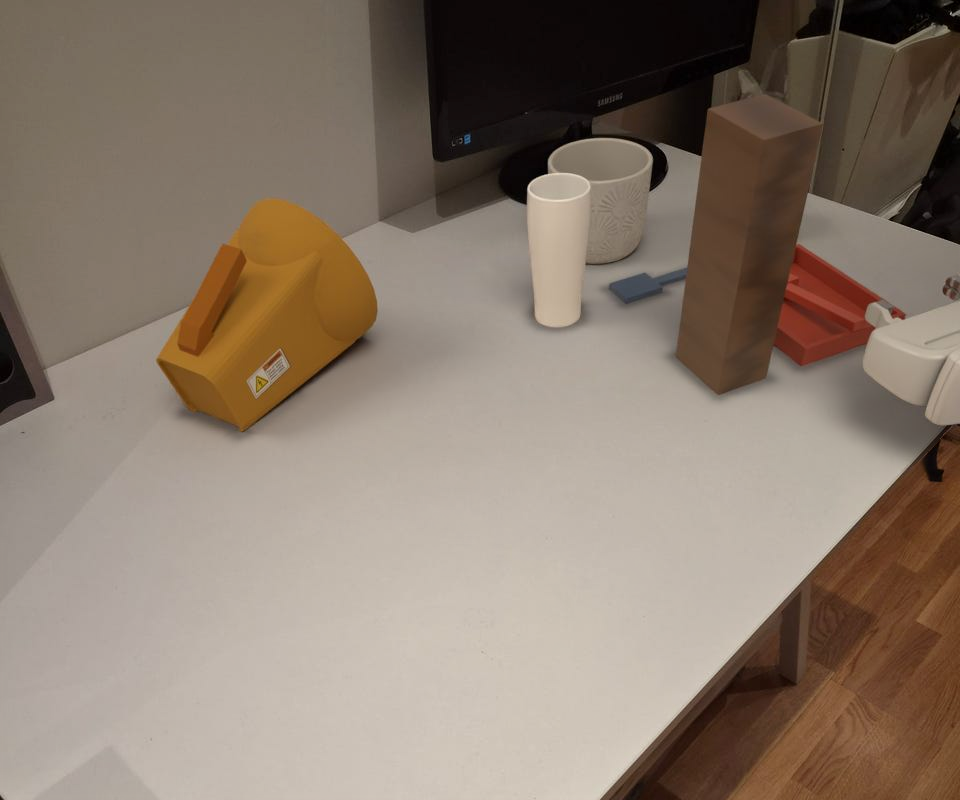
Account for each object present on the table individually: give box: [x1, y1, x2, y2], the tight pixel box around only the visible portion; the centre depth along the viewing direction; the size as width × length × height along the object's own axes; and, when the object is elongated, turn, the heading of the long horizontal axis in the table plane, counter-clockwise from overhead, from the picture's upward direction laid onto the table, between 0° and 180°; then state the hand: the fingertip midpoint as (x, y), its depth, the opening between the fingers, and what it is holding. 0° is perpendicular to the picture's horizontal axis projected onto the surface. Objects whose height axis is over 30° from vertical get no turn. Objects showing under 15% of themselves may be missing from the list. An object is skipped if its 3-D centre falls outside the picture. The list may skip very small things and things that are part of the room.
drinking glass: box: [526, 173, 591, 328], centre depth 96 cm, size 7×7×15 cm
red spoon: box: [784, 274, 865, 332], centre depth 97 cm, size 4×17×1 cm, turn 25°
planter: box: [547, 137, 654, 265], centre depth 107 cm, size 12×12×11 cm
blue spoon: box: [608, 267, 687, 305], centre depth 105 cm, size 4×17×1 cm, turn 115°
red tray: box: [773, 243, 907, 367], centre depth 98 cm, size 13×18×3 cm
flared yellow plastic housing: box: [155, 197, 378, 433], centre depth 92 cm, size 20×17×18 cm
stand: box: [675, 93, 824, 396], centre depth 83 cm, size 6×8×25 cm
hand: (911, 295), depth 84 cm, fingers open, 8 cm apart
